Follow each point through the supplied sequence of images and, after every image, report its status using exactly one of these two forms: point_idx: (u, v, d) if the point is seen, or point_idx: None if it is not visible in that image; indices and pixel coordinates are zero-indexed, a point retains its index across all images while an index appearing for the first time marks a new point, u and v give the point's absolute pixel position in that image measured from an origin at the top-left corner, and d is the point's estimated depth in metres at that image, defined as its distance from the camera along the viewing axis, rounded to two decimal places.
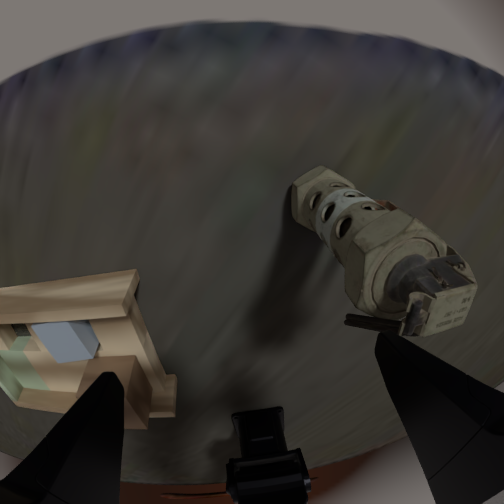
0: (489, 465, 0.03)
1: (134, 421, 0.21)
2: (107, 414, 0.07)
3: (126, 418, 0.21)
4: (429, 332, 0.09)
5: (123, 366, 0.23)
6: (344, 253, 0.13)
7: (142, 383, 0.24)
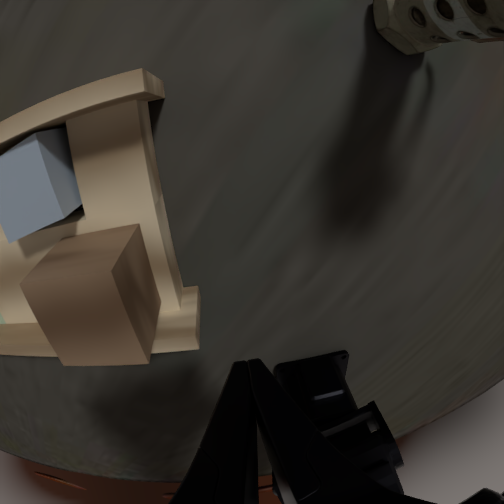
0: None
1: (124, 342, 0.12)
2: (252, 406, 0.07)
3: (108, 335, 0.11)
4: None
5: (115, 236, 0.13)
6: None
7: (145, 277, 0.14)
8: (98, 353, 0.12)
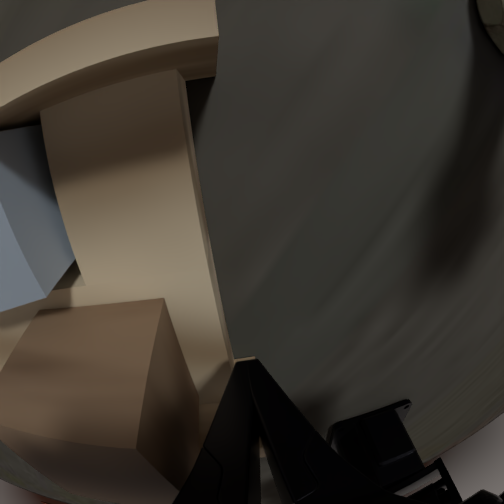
0: None
1: (163, 498, 0.06)
2: None
3: (136, 492, 0.05)
4: None
5: (125, 330, 0.07)
6: None
7: (180, 384, 0.08)
8: (121, 498, 0.06)
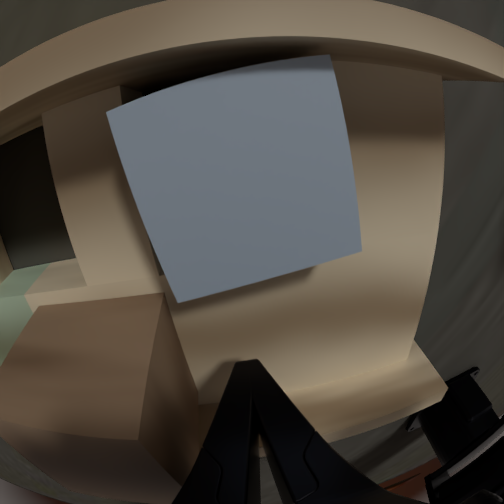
0: None
1: (164, 493, 0.06)
2: None
3: (137, 487, 0.05)
4: None
5: (126, 323, 0.07)
6: None
7: (180, 379, 0.09)
8: (122, 494, 0.06)
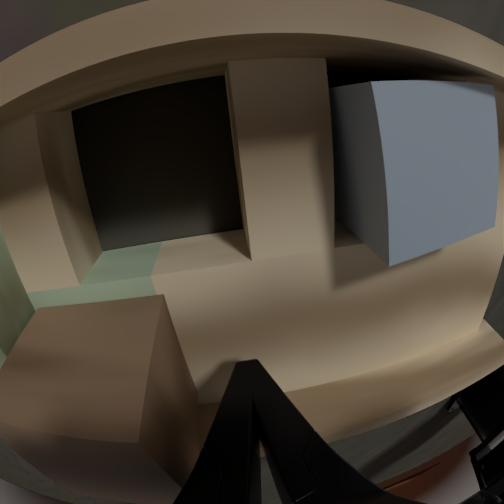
0: None
1: (165, 495, 0.06)
2: None
3: (137, 488, 0.05)
4: None
5: (126, 326, 0.07)
6: None
7: (180, 380, 0.09)
8: (122, 496, 0.06)
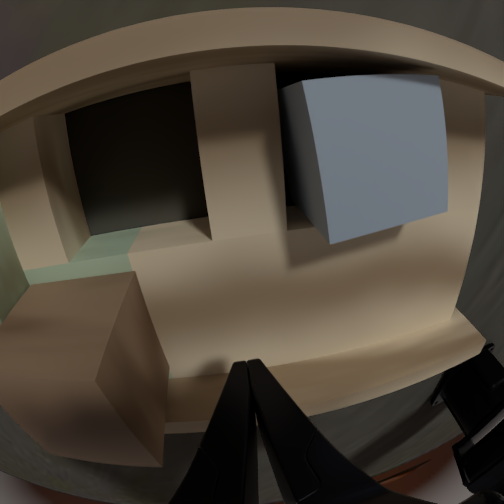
0: None
1: (127, 450, 0.07)
2: (252, 406, 0.07)
3: (103, 441, 0.07)
4: None
5: (100, 295, 0.09)
6: None
7: (148, 348, 0.10)
8: (93, 453, 0.07)
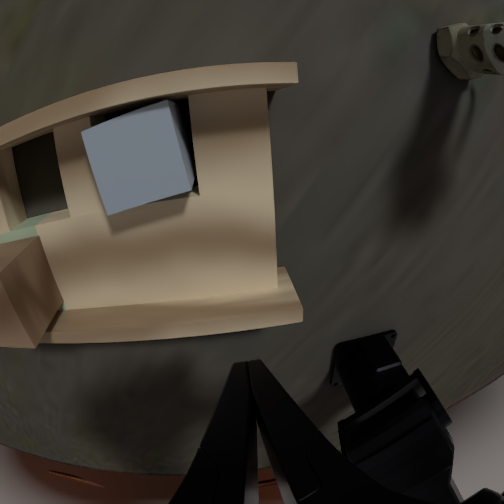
0: None
1: (17, 329, 0.12)
2: (252, 406, 0.07)
3: (6, 322, 0.12)
4: None
5: (18, 246, 0.14)
6: None
7: (42, 279, 0.15)
8: (5, 337, 0.12)
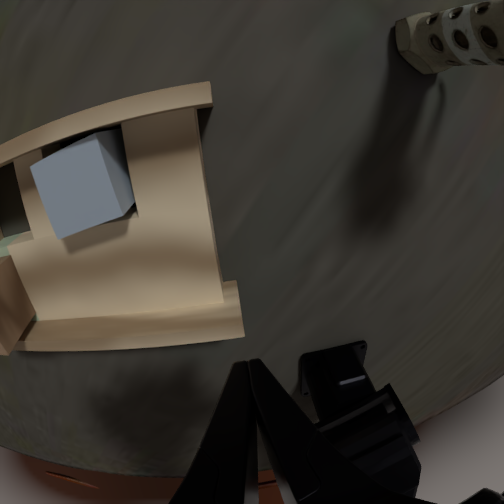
0: None
1: None
2: (252, 406, 0.07)
3: None
4: None
5: None
6: (496, 17, 0.06)
7: (14, 294, 0.15)
8: None
